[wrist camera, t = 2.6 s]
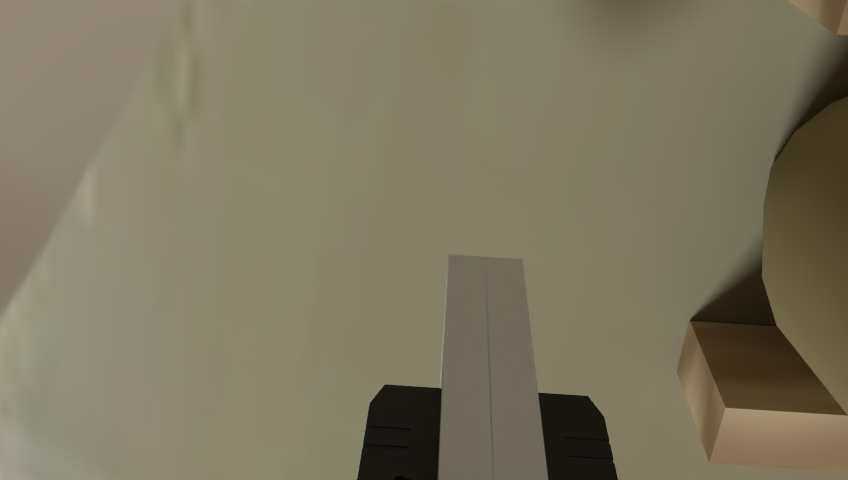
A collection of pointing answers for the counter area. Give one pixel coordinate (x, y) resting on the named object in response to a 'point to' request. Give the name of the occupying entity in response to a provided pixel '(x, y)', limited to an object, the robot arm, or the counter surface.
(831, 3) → the bar
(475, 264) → the robot arm
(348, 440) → the counter surface
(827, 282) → the squeeze bottle
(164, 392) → the counter surface
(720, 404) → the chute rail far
